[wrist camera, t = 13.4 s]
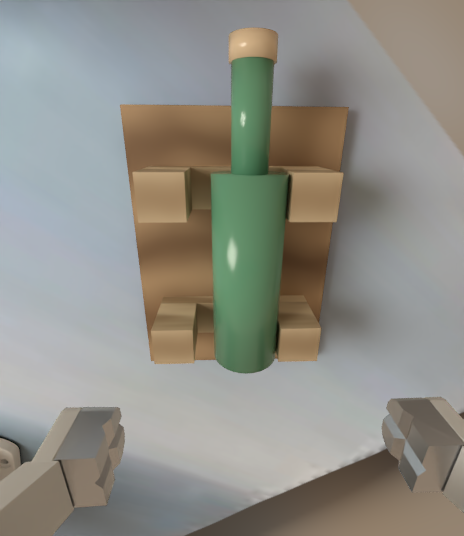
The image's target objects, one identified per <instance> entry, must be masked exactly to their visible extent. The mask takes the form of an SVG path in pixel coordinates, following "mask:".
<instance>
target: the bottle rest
mask: <svg viewBox="0 0 464 536" xmlns="http://www.w3.org/2000/svg"><path fill="white" fill-rule="evenodd" d="M120 108H121V116H122V125H123V133H124V141H125V149H126V158H127V166H128V174H129V182H130V191H131V199H132V207H133V215H134V224H135V232H136V240H137V248H138V257H139V265H140V273H141V281H142V290H143V298H144V306H145V314H146V322H147V331H148V339H149V347H150V355H151V361H154V362H155V364H178V363H194V360H216V358H215V355H214V321H213V272H212V224H211V175H210V173H212V172H217V171H230V170H231V106H201V105H120ZM348 108H349V107H292V106H272V113H271V133H270V153H269V171H276V172H284V173H288V174H289V183H288V197H287V210H286V223H285V236H284V249H283V262H282V275H281V288H280V301H279V315H278V328H277V341H276V354H275V358H278V362H283V361H317V355H318V348H319V341H320V334H321V327H320V325H319V318H320V311H321V304H322V296H323V289H324V282H325V275H326V267H327V260H328V253H329V246H330V238H331V231H332V224H333V222H337V216H338V209H339V202H340V195H341V188H342V181H343V174H344V173H342V172H340V166H341V159H342V151H343V144H344V137H345V130H346V123H347V115H348Z"/></svg>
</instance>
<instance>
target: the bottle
mask: <svg viewBox="0 0 464 536" xmlns="http://www.w3.org/2000/svg"><path fill="white" fill-rule="evenodd" d="M277 49H278V34H277V33H276V32H275V31H273V30H270V29H265V28H244V29H239V30H236V31H233V32H231V33H230V34H229V64H231V170H230V171H217V172H212V173H210V175H211V224H212V272H213V321H214V355H215V358H216V360H217V362H218V363H219V364H220V365H221V366H223V367H224V368H226V369H228V370H230V371H233V372H238V373H255V372H259V371H262V370H264V369H266V368H267V367H269V366H270V365H271V364H272V363H273V361H274V359H275V354H276V341H277V328H278V315H279V301H280V288H281V275H282V262H283V249H284V236H285V223H286V210H287V197H288V183H289V174H288V173H284V172H276V171H269V153H270V133H271V113H272V93H273V74H274V64H276V63H277Z"/></svg>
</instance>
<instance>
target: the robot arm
mask: <svg viewBox="0 0 464 536" xmlns="http://www.w3.org/2000/svg"><path fill="white" fill-rule="evenodd" d="M386 409H387V410H388V412H389V413H390V414H389V415H387V416H386V417H385V418H384V419H383V423H382V435H383V439H384V442H385V445H386V447H387V448H388V450H389V452H390V454H392V455H393V456H394V457H396V458H397V459H398V460H399V470H400V472H401V474H402V475H403V477H404V479H405V481H406V482H407V484H408V486H409V488H410V490H411V491H412V492H443V495H444V496H445V497H446V498H448V499H449V500H450V501H451V502H452V503H453V504H454V505H455V506H456V507H458V508H459V509H460V510H461V511H462V512H463V513H464V420H463V419H462V418H461V417H460V415H459V414H458V413H457V412H456V411H455V410H454V409H453V408H452V406H451V405H450V404H449V403H448V402H447V401H446V400H445V399H443V398H441V397H426V398H398V399H391V400H390V401H388V404H387V407H386ZM120 419H121V412H120V408H118V407H83V408H65V409H64V410H63V411H62V412H61V413H60V414H59V416H58V418H57V419H56V421H55V423H54V424H53V426H52V428H51V429H50V431H49V433H48V435H47V436H46V438H45V440H44V441H43V443H42V445H41V446H40V448H39V450H38V451H37V453H36V455H35V456H34V458H33V460H32V461H31V462H25V463H24V464H22V465H21V462H20V451H19V448H18V446H17V445H15V444H14V443H12V442H10V441H8V440H5V439H2V438H0V536H52V535H53V534H54V533H55V532H56V530H57V529H58V528H59V527H60V526H61V524H62V523H63V522H64V521H65V520H66V519H67V517H68V516H69V515H70V514H71V513H72V512H73V510H74V508H76V507H90V506H103V505H107V503H108V500H109V497H110V493H111V490H112V487H113V484H114V481H115V477H114V472H113V470H114V469H115V468H116V467H117V466H118V465H119V464H120V461H121V458H122V454H123V449H124V443H125V433H124V427H123V426H121V425H120V424H119V422H120Z"/></svg>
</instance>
